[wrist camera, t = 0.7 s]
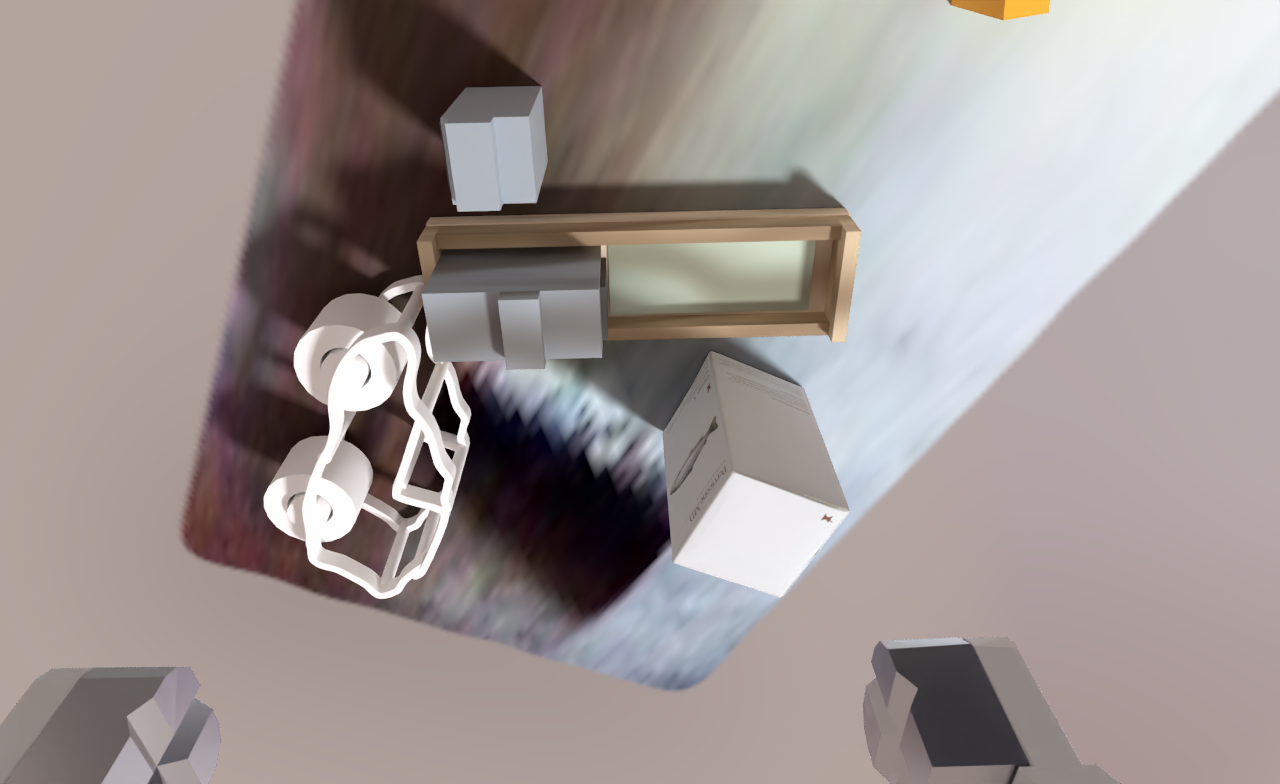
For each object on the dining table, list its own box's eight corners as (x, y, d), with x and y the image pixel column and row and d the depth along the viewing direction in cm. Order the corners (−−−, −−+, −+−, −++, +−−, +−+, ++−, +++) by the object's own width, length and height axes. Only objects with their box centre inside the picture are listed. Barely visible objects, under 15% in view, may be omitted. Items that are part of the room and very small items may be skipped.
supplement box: (708, 346, 49) (734, 467, 39) (806, 387, 51) (857, 513, 40) (658, 431, 53) (668, 564, 42) (751, 467, 55) (784, 603, 44)
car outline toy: (341, 244, 45) (297, 298, 39) (520, 308, 48) (506, 368, 41) (285, 490, 55) (243, 564, 49) (437, 532, 57) (415, 608, 51)
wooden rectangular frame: (430, 217, 44) (395, 274, 37) (844, 207, 45) (886, 262, 38) (448, 325, 48) (419, 396, 41) (830, 315, 48) (866, 384, 41)
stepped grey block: (460, 87, 41) (428, 123, 34) (541, 85, 41) (526, 121, 34) (470, 163, 43) (442, 211, 36) (547, 162, 43) (534, 209, 36)
